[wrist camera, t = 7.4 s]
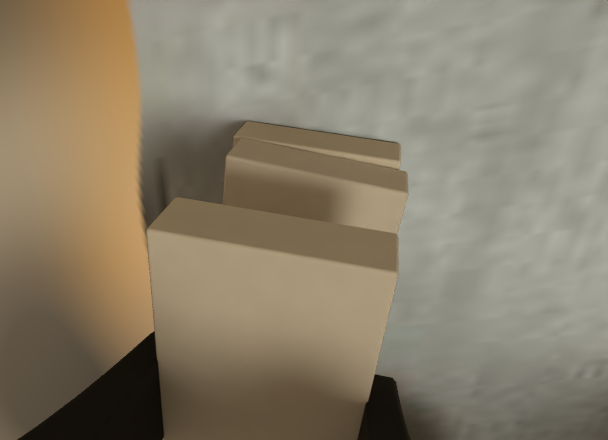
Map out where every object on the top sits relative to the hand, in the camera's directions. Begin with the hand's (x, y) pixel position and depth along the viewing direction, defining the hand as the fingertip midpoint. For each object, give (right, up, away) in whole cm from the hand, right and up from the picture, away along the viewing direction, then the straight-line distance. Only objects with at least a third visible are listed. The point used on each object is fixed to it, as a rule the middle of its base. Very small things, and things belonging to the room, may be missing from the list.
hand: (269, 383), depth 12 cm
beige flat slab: (0, 0, 0) cm, 0 cm away
